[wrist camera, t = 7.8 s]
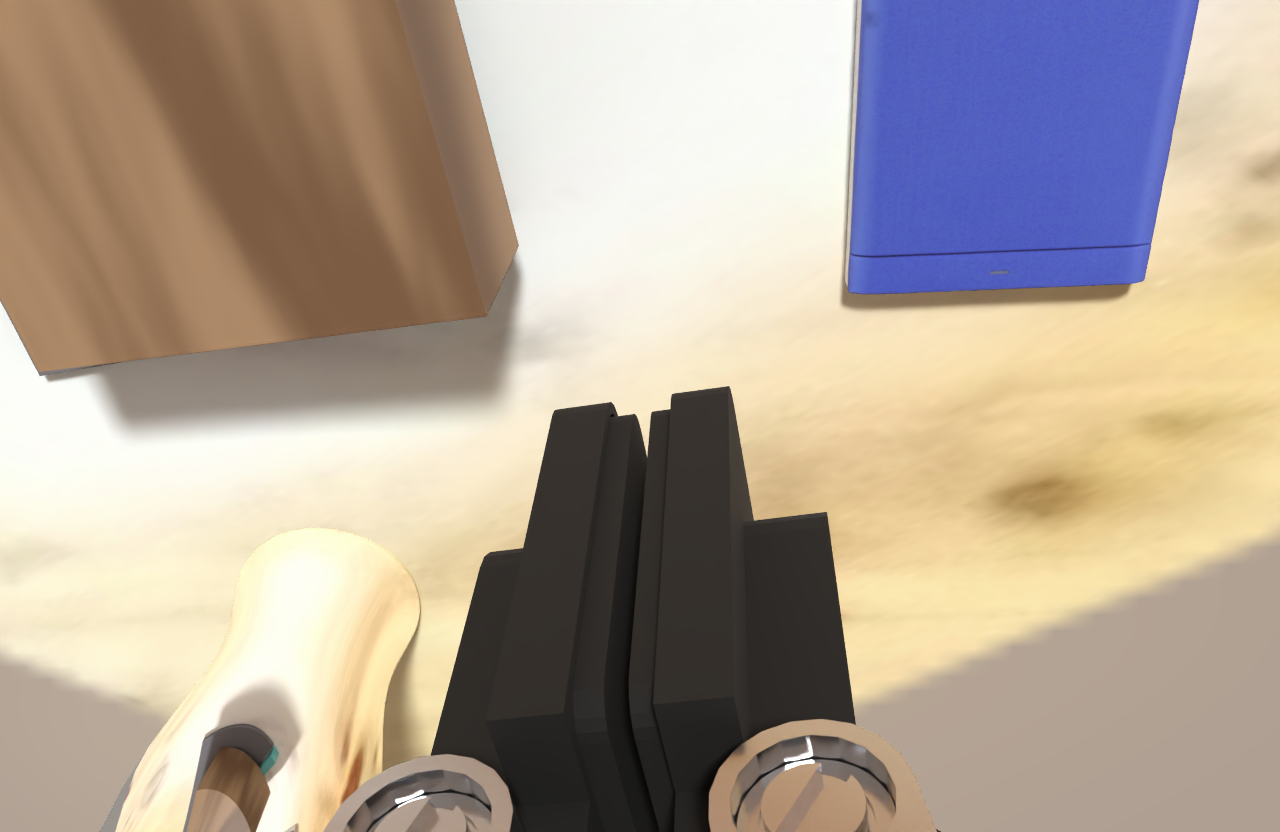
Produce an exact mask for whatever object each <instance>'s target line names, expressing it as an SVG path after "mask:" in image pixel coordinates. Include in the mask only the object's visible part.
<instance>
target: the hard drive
mask: <svg viewBox="0 0 1280 832" xmlns="http://www.w3.org/2000/svg"><path fill="white" fill-rule="evenodd" d="M1198 3H1199V0H857V22H856V45H855V67H854V89H853V112H852V134H851V157H850V179H849V201H848V223H847V247H846V265H845V282H846V285H847V288H848V291H849V292H850V293H857V294H897V293H919V292H948V291H965V290H971V291H973V290H992V289H1017V288H1043V287H1070V286H1089V285H1090V286H1094V285H1117V284H1132V283H1137V282H1142V281H1143V280H1144V279H1145V273H1146V269H1147V264H1148V259H1149V254H1150V249H1151V242H1152V237H1153V232H1154V227H1155V223H1156V217H1157V211H1158V206H1159V202H1160V197H1161V191H1162V185H1163V180H1164V176H1165V171H1166V167H1167V161H1168V156H1169V151H1170V146H1171V141H1172V133H1173V128H1174V124H1175V119H1176V114H1177V109H1178V104H1179V99H1180V94H1181V89H1182V84H1183V79H1184V75H1185V69H1186V64H1187V59H1188V54H1189V49H1190V45H1191V40H1192V35H1193V29H1194V24H1195V19H1196V14H1197V9H1198Z"/></svg>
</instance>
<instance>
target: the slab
mask: <svg viewBox="0 0 1280 832" xmlns="http://www.w3.org/2000/svg"><path fill="white" fill-rule="evenodd" d="M518 246H519V245H518V241H517V237H516V233H515V229H514V226H513V222H512V218H511V214H510V210H509V207H508V203H507V199H506V195H505V191H504V188H503V184H502V180H501V176H500V173H499V169H498V165H497V161H496V157H495V154H494V150H493V146H492V142H491V138H490V135H489V131H488V127H487V123H486V119H485V116H484V112H483V108H482V104H481V100H480V97H479V93H478V89H477V85H476V81H475V78H474V74H473V70H472V66H471V62H470V59H469V55H468V51H467V47H466V43H465V40H464V36H463V32H462V28H461V24H460V21H459V17H458V13H457V9H456V5H455V2H454V0H0V299H1V301H2V303H3V305H4V307H5V309H6V310H7V312H8V314H9V316H10V318H11V320H12V322H13V324H14V326H15V328H16V329H17V331H18V333H19V335H20V337H21V339H22V341H23V343H24V345H25V347H26V349H27V350H28V352H29V354H30V356H31V358H32V360H33V362H34V364H35V366H36V368H37V370H38V371H39V372H44V371H52V370H60V369H68V368H76V367H84V366H92V365H100V364H108V363H116V362H124V361H132V360H140V359H148V358H156V357H164V356H172V355H181V354H189V353H197V352H205V351H213V350H221V349H229V348H237V347H245V346H253V345H261V344H269V343H277V342H285V341H293V340H301V339H309V338H317V337H325V336H334V335H342V334H350V333H358V332H366V331H374V330H382V329H390V328H398V327H406V326H414V325H422V324H430V323H438V322H446V321H454V320H462V319H470V318H478V317H486V316H487V314H488V312H489V310H490V308H491V306H492V303H493V301H494V299H495V297H496V295H497V292H498V290H499V288H500V286H501V284H502V281H503V279H504V277H505V275H506V273H507V270H508V268H509V266H510V264H511V262H512V259H513V257H514V255H515V253H516V251H517V248H518Z"/></svg>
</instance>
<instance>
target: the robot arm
mask: <svg viewBox="0 0 1280 832" xmlns="http://www.w3.org/2000/svg"><path fill="white" fill-rule="evenodd" d="M324 832H940V831H938V830H937V829H936V828H935V825H934V823H933V820H932V818H931V815H930V812H929V810H928V808H927V805H926V802H925V799H924V797H923V794H922V792H921V789H920V786H919V784H918V781H917V779H916V776H915V775H914V773H913V771H912V770H911V768H910V766H909V765H908V763H907V762H906V760H905V758H904V757H903V755H902V753H900V752H899V751H898V750H897V749H895V748H894V747H893V746H892V745H891V744H889V743H888V742H887V741H886V740H885V739H883V738H882V737H881V736H880V735H878V734H876V733H873V732H871V731H868V730H866V729H864V728H861V727H859V726H857V725H856V723H855V716H854V708H853V701H852V694H851V686H850V679H849V671H848V664H847V657H846V649H845V642H844V635H843V627H842V620H841V613H840V605H839V598H838V590H837V583H836V576H835V568H834V561H833V554H832V546H831V539H830V531H829V524H828V517H827V512H823V513H815V514H806V515H798V516H790V517H781V518H773V519H764V520H756V521H754V519H753V513H752V507H751V501H750V496H749V490H748V484H747V478H746V473H745V467H744V461H743V455H742V449H741V444H740V438H739V432H738V426H737V421H736V415H735V409H734V404H733V398H732V394H731V390H730V387H729V386H727V387H720V388H712V389H705V390H697V391H690V392H683V393H675V394H672V397H671V409H670V410H662V411H655V412H652V414H651V422H650V433H649V445H648V457H647V455H646V451H645V446H644V442H643V437H642V433H641V429H640V425H639V421H638V419H637V416H636V415H635V414H632V415H625V416H618V415H617V412H616V409H615V407H614V405H613V404H612V402H609V403H602V404H595V405H587V406H580V407H573V408H565V409H558V410H555V411H554V413H553V415H552V419H551V424H550V429H549V433H548V438H547V442H546V447H545V451H544V456H543V460H542V465H541V470H540V474H539V479H538V483H537V488H536V492H535V497H534V502H533V506H532V511H531V515H530V520H529V524H528V529H527V533H526V538H525V543H524V547H523V548H521V549H513V550H505V551H496V552H490V553H488V554H487V555H486V556H485V557H484V559H483V562H482V564H481V567H480V570H479V574H478V577H477V581H476V585H475V589H474V593H473V596H472V600H471V604H470V608H469V612H468V615H467V619H466V623H465V627H464V631H463V634H462V638H461V642H460V646H459V650H458V653H457V657H456V661H455V665H454V669H453V672H452V676H451V680H450V684H449V688H448V691H447V695H446V699H445V703H444V707H443V710H442V714H441V718H440V722H439V726H438V730H437V733H436V737H435V741H434V745H433V749H432V752H431V756H424V757H418V758H415V759H412V760H409V761H406V762H403V763H401V764H398V765H395V766H392V767H390V768H388V769H387V770H385V771H383V772H382V773H380V774H378V775H376V776H375V777H373V778H371V779H370V780H368V781H366V782H365V783H364V784H362V785H361V786H360V787H359V788H358V789H357V790H356V791H355V792H354V793H353V794H352V795H351V796H349V797H348V798H347V799H346V800H345V801H344V802H343V803H342V804H341V806H340V807H339V808H338V810H337V811H336V813H335V814H334V816H333V817H332V819H331V820H330V822H329V823H328V825H327V826H326V828H325V830H324Z"/></svg>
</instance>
